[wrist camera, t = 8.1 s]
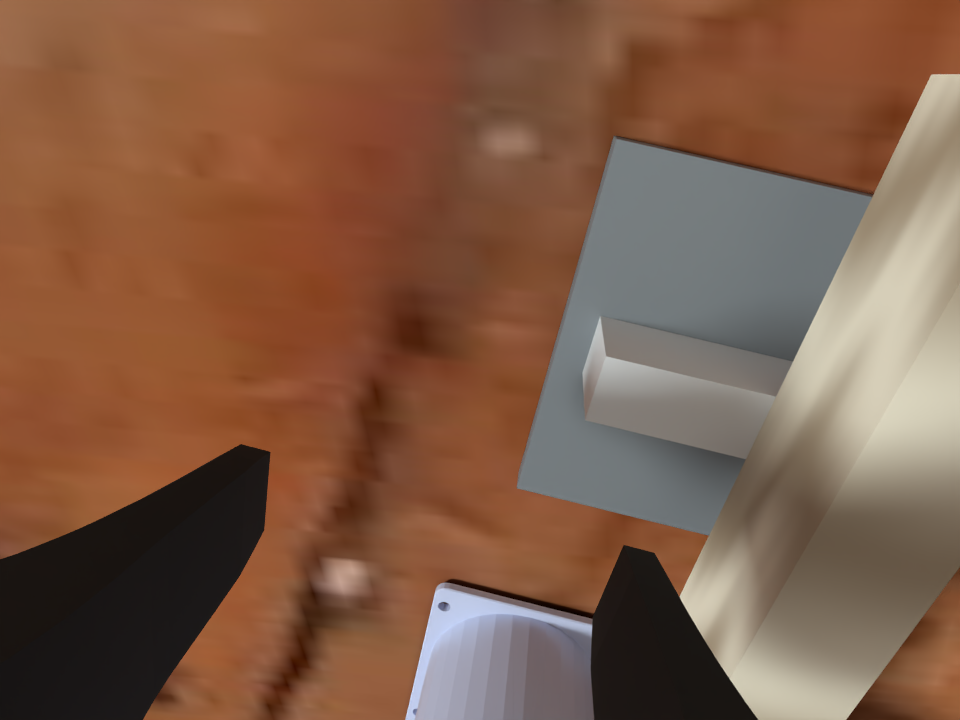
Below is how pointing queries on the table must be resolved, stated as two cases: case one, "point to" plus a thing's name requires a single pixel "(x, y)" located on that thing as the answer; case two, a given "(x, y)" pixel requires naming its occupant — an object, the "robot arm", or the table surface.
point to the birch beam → (852, 457)
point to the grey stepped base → (681, 330)
